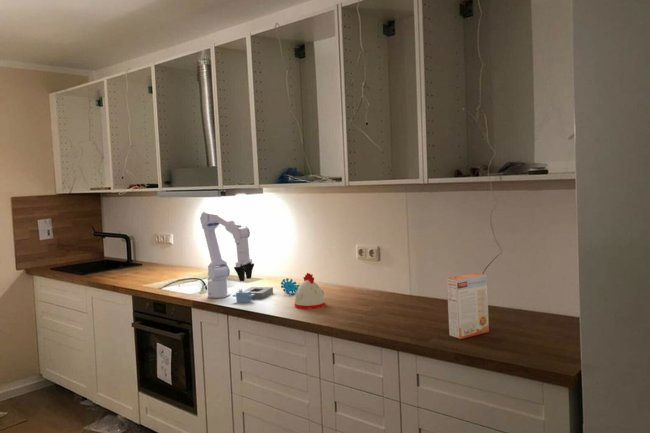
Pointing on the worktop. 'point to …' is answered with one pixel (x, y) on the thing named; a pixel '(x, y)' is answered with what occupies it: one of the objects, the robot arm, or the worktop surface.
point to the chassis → (260, 292)
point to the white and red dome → (309, 294)
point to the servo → (243, 296)
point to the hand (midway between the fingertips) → (245, 279)
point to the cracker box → (467, 305)
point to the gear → (289, 286)
